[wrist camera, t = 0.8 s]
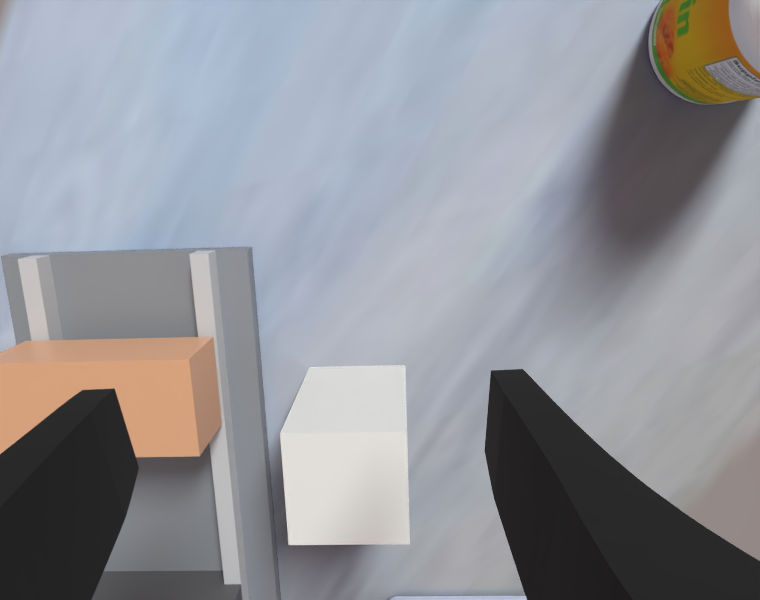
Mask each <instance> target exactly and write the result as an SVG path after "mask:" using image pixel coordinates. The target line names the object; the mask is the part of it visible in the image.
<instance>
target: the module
mask: <svg viewBox="0 0 760 600" xmlns="http://www.w3.org/2000/svg"><path fill="white" fill-rule="evenodd" d="M280 440H281V453H282V466H283V479H284V492H285V505H286V518H287V531H288V544H289V545H375V544H410V535H409V491H408V449H407V409H406V369H405V365H392V366H344V367H309V369H308V372H307V374H306V376H305V378H304V381H303V383H302V385H301V387H300V390H299V392H298V394H297V396H296V399H295V401H294V403H293V405H292V408H291V410H290V412H289V414H288V417H287V419H286V421H285V423H284V426H283V428H282V430H281V432H280Z"/></svg>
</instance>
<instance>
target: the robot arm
mask: <svg viewBox="0 0 760 600" xmlns="http://www.w3.org/2000/svg"><path fill="white" fill-rule="evenodd" d="M485 454H486V460H487V465H488V470H489V476H490V480H491V485H492V490H493V495H494V499H495V502H496V506H497V509H498V512H499V515H500V518H501V521H502V525H503V528H504V531H505V534H506V537H507V540H508V543H509V546H510V549H511V552H512V555H513V558H514V561H515V564H516V567H517V571H518V574H519V577H520V580H521V583H522V586H523V589H524V592H525V595H526V596H396V597H392V598H390V599H389V600H760V561H758V560H757V559H755V558H754V557H752V556H750V555H748V554H747V553H745V552H743V551H742V550H740V549H739V548H737V547H736V546H734V545H732V544H731V543H729V542H728V541H726V540H724V539H723V538H721V537H720V536H718V535H717V534H715V533H713V532H712V531H710V530H709V529H707V528H705V527H704V526H703V525H701V524H699V523H698V522H696V521H695V520H694V519H692V518H691V517H689V516H688V515H686V514H685V513H683V512H682V511H681V510H679V509H678V508H677V507H675V506H674V505H672V504H671V503H670V502H668V501H667V500H666V499H664V498H663V497H661V496H660V495H659V494H657V493H656V492H655V491H653V490H652V489H651V488H649V487H648V486H647V485H645V484H644V483H643V482H642V481H640V480H639V479H638V478H637V477H635V476H634V475H633V474H632V473H630V472H629V471H628V470H627V469H626V468H625V467H623V466H622V465H621V464H620V463H619V462H617V461H616V460H615V459H614V458H613V457H611V456H610V455H609V454H608V453H607V452H606V451H605V450H604V449H603V448H601V447H600V446H599V445H598V444H597V443H596V442H595V441H594V440H593V439H592V438H591V437H590V436H589V435H588V434H586V433H585V432H584V431H583V430H582V429H581V428H580V427H579V426H578V425H577V424H576V423H575V422H574V421H573V420H572V419H571V418H570V417H569V416H568V415H567V414H566V413H565V412H564V411H563V410H562V409H561V408H560V407H559V406H558V405H557V404H556V403H555V402H554V401H553V400H552V399H551V398H550V397H549V396H548V395H547V394H546V393H545V392H544V391H543V390H542V389H541V388H540V386H539V385H538V384H537V383H536V382H535V381H534V380H533V379H532V378H531V377H530V376H529V375H528V374H527V373H526V372H525V371H524V370H523V369H517V370H496V371H491V378H490V391H489V403H488V416H487V428H486V441H485ZM138 470H139V466H138V463H137V459H136V456H135V453H134V450H133V446H132V443H131V440H130V437H129V433H128V430H127V427H126V424H125V420H124V417H123V414H122V411H121V407H120V404H119V401H118V398H117V395H116V391H115V388H113V389H92V390H82V391H80V392H79V393H77V394H76V395H75V396H73V397H72V398H71V399H69V400H68V401H67V402H65V403H64V404H63V405H61V406H60V407H59V408H58V409H56V410H55V411H54V412H52V413H51V414H50V415H49V416H47V417H46V418H45V419H44V420H42V421H41V422H40V423H39V424H37V425H36V426H35V427H34V428H33V429H31V430H30V431H29V432H28V433H26V434H25V435H24V436H22V437H21V438H20V439H19V440H17V441H16V442H15V443H14V444H12V445H11V446H10V447H9V448H7V449H6V450H5V451H4V452H2V453H1V454H0V600H92V598H93V595H94V593H95V590H96V588H97V586H98V583H99V581H100V579H101V576H102V574H103V571H104V569H105V567H106V564H107V562H108V560H109V557H110V555H111V552H112V550H113V548H114V545H115V543H116V540H117V538H118V535H119V533H120V531H121V528H122V526H123V523H124V521H125V518H126V515H127V511H128V508H129V504H130V501H131V497H132V494H133V490H134V486H135V482H136V478H137V474H138Z"/></svg>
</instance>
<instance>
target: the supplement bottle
mask: <svg viewBox="0 0 760 600" xmlns="http://www.w3.org/2000/svg"><path fill="white" fill-rule="evenodd" d="M648 45H649V55H650V60H651V64H652V67H653V69H654V71H655V73H656V75H657V77H658V78H659V80H660V81H661V82H662V84H663V85H664V86H665V87H666V88H667V89H668V90H669V91H671V92H672V93H673V94H675V95H676V96H678V97H679V98H681V99H683V100H686V101H688V102H692V103H696V104H702V105H716V104H725V103H732V102H738V101H743V100H748V99H754V98H760V0H661V1H660V3H659V5H658V7H657V9H656V11H655V13H654V16H653V19H652V22H651V26H650V30H649V41H648Z"/></svg>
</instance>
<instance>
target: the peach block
mask: <svg viewBox="0 0 760 600" xmlns="http://www.w3.org/2000/svg"><path fill="white" fill-rule="evenodd" d="M113 388H115V391H116V395H117V398H118V401H119V404H120V407H121V411H122V414H123V417H124V420H125V424H126V427H127V430H128V433H129V437H130V440H131V443H132V446H133V450H134V453H135V456H136V457H192V456H200V455H201V454H202V452H203V451H204V449H205V448H206V446H207V445H208V443H209V442H210V441H211V439H212V438H213V436H214V435H215V433H216V432H217V430H218V429H219V427H220V426H221V424H222V419H221V409H220V399H219V389H218V379H217V369H216V359H215V349H214V339H213V337H175V338H131V339H87V340H43V341H24V342H22V343H20V344H18V345H16V346H14V347H12V348H10V349H8V350H6V351H3V352H1V353H0V454H1V453H2V452H4V451H5V450H6V449H7V448H9V447H10V446H11V445H12V444H14V443H15V442H16V441H17V440H19V439H20V438H21V437H22V436H24V435H25V434H26V433H28V432H29V431H30V430H31V429H33V428H34V427H35V426H36V425H37V424H39V423H40V422H41V421H42V420H44V419H45V418H46V417H47V416H49V415H50V414H51V413H52V412H54V411H55V410H56V409H58V408H59V407H60V406H61V405H63V404H64V403H65V402H67V401H68V400H69V399H71V398H72V397H73V396H75V395H76V394H77V393H79V392H80V391H82V390H92V389H113Z"/></svg>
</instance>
